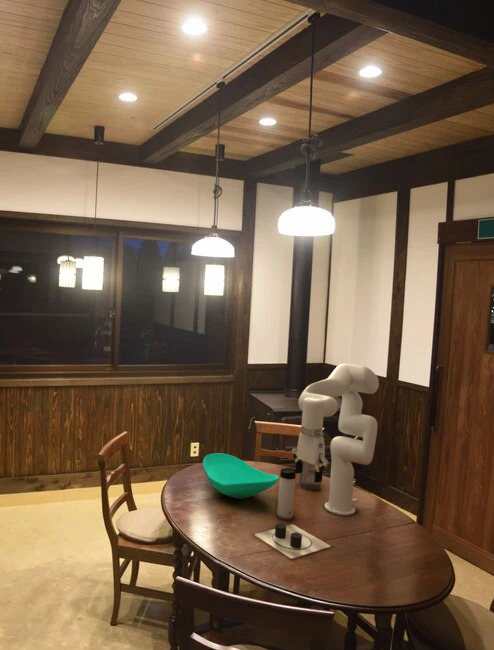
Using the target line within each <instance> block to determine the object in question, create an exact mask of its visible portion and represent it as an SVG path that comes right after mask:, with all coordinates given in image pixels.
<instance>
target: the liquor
mask: <svg viewBox="0 0 494 650" xmlns="http://www.w3.org/2000/svg"><path fill="white" fill-rule="evenodd" d="M302 462H303V471H302V473H299V475H298V477H299V479H298V483H299V486H300V487H301V489H303V490H307V491H319V490H320V489H321V487H322V481H321V482H317V483H316V482H315V471H317V470H316V468H315V466H314V465H312V464H310V463H307V462H305V461H302ZM318 466H319V465H318ZM319 468H320V467H319Z"/></svg>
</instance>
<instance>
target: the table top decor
mask: <svg viewBox="0 0 494 650" xmlns="http://www.w3.org/2000/svg"><path fill="white" fill-rule="evenodd" d="M202 465H203V469H204V473H205V475H206V477H207V480H208V481H209V483H210V485H211V486H212V487H213V488H214V489H216V490H217V491H218V492H220V494H223V495H224V496H228V497H229V498H233V499H238V500H245V499H248V498H251V497H253V496H256V495H258V494H260V493H262V492H265V491H267V490H268V489H270V488H272V487H273V486H274V485H275V484H276V483H277V482H278V481H279V479H280V476H279V475H277V474H268V473H266V472H264V471H262V470H260V469H257V468H255V467H253V466H251V465H250V464H248V463H247V462H246V461H244V460H242V459H240V458H238V457H236V456H234V455H231V454H228V453H221V452H218V453H215V452H214V453H210V454H207V455H205V456H204V457H203V460H202Z"/></svg>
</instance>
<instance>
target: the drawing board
mask: <svg viewBox="0 0 494 650" xmlns="http://www.w3.org/2000/svg"><path fill="white" fill-rule="evenodd" d="M294 532H295V533H300V534H301V535H302V543H301V548H293V547H291V546H290V538H291V533H294ZM253 536H254V537H256V538H257V539H259V540H261V542H263V543H265V544H266V545H268V546H269V547H271V548H273V549H274V550H276V551H277V552H279V553H280V554H281V555H283V556H285V557H287V558H288V559H290V560H294V559H298V558H301V557H304V556H307V555H310V554H314V553H318V552H320V551H323V550H324V551H325V550H327V549H330V548H332V545H330V544H328V543H327V542H324V541H323V540H321V539H320V538H318V537H316V536H314V535H313V534H311V533H309V532H307V531H306V530H304V529H301V528H300V527H298V526H297V525H295V524H292V523H291V524H288V525H286V537H285V538H284V539H280V538H277V537H275V528H272V529H268V530H264V531H260V532H256V533H253Z"/></svg>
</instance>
